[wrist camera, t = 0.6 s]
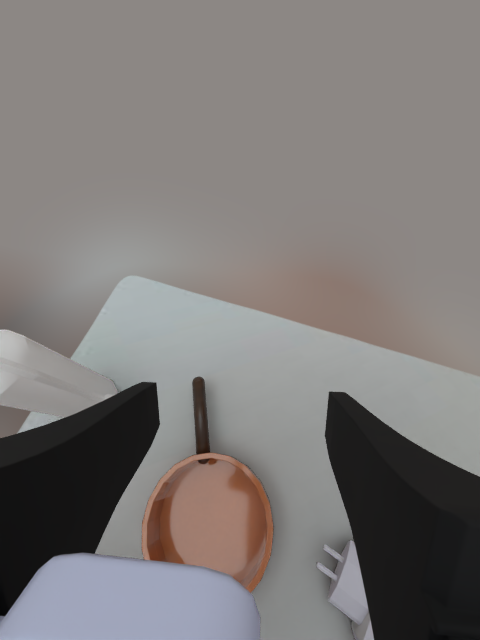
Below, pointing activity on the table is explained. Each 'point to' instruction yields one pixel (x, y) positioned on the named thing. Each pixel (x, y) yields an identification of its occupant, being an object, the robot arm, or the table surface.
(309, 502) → the table surface
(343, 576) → the charger
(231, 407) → the table surface
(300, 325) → the table surface
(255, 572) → the pan
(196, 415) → the pan handle
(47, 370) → the white spray bottle
